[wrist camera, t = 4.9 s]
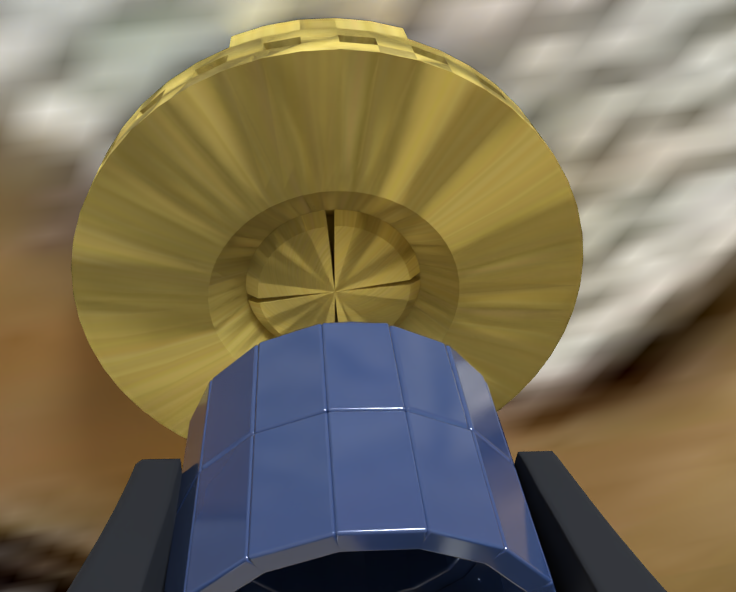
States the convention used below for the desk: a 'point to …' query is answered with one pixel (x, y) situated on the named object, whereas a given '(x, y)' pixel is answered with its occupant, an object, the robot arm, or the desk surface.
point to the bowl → (351, 473)
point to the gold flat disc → (323, 214)
